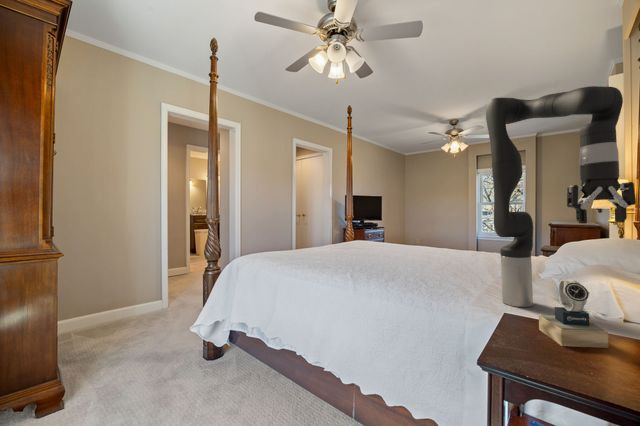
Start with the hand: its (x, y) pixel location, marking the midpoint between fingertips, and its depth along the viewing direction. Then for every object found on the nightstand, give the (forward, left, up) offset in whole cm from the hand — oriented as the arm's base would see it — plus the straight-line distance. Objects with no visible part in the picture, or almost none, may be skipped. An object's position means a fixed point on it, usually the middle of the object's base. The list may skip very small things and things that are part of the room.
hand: (601, 222), depth 77 cm
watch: (+3, -10, -26) cm, 28 cm away
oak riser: (+3, -10, -30) cm, 32 cm away
